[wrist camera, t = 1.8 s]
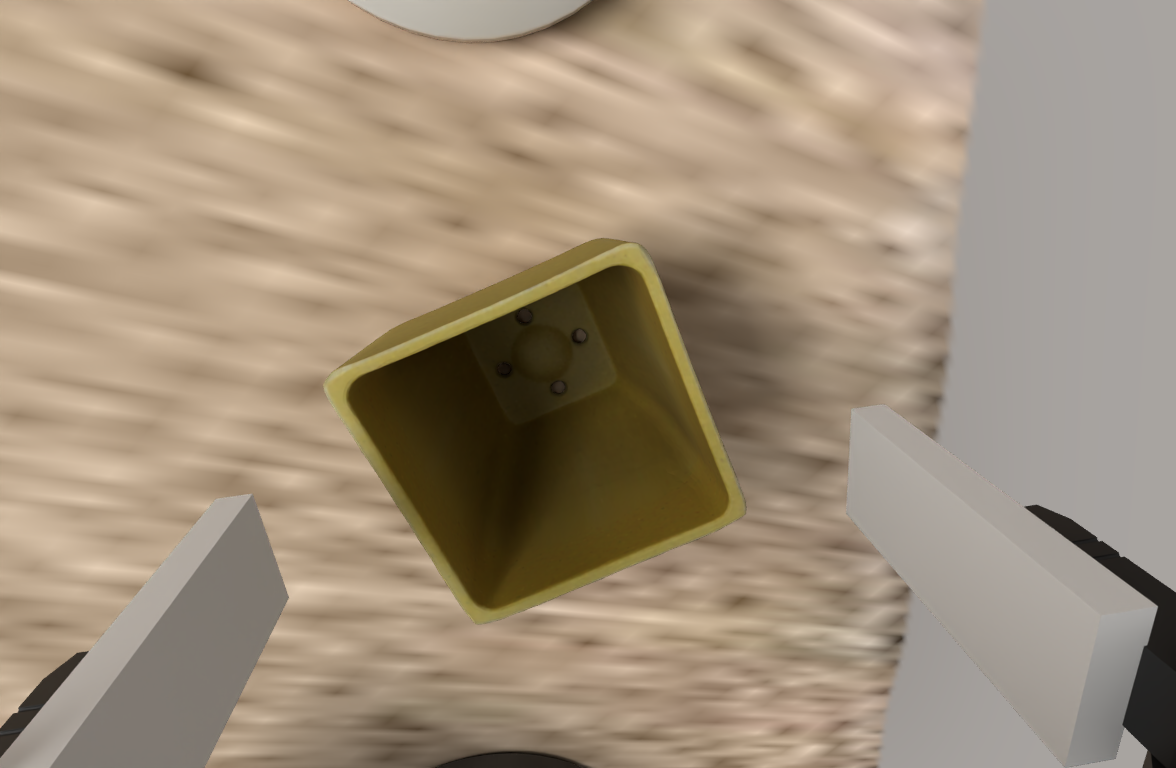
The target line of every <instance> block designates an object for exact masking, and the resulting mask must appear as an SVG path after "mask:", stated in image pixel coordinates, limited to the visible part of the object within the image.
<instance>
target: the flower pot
mask: <svg viewBox="0 0 1176 768" xmlns="http://www.w3.org/2000/svg"><path fill="white" fill-rule="evenodd" d="M522 309H527V310H528V311H530V312H531V314H532V319H531V321H530V322H528V323H521V322H520V321H519V320H518V318H517V314H518V312H519V311H520V310H522ZM578 329H581V330H583V331H584V332H585V333H586V339H585V340H584V342H582V343H576V342H574V341H573V339H572V334H573V332H574V331H575V330H578ZM502 362H506V363H509V364H510V365H511V367H512V370H511V372H510V373H509V374H508V375H502V374H500V373H499V372H498V370H497V366H498V365H499V364H500V363H502ZM555 381H562V382H563V383H564V384H565V390H564V391H563V392H562V393H559V394H556V393H554V392H553V391H552V389H551V386H552V384H553V383H554V382H555ZM323 388H324V391H325V394H326V396H327V398H328V400H329V401H330V403H331V405H332V407H333V408H334V410H335V411H336V412H337V414H338V416H339V417H340V419H341V421H342V422H343V423H344V425H345V426H346V428H347V429H348V431H349V432H350V434H351V435H352V437H353V438H354V440H355V442H356V443H357V445H358V446H359V448H360V450H361V451H362V453H363V454H364V455H365V457H366V458H367V460H368V461H369V463H370V464H371V466H372V467H373V469H374V470H375V472H376V473H377V475H378V476H379V478H380V479H381V481H382V483H383V484H384V486H385V487H386V489H387V490H388V492H389V494H390V495H391V497H392V498H393V500H394V502H395V503H396V505H397V506H398V508H399V509H400V511H401V512H402V514H403V516H404V517H405V519H406V520H407V522H408V523H409V525H410V527H411V528H412V530H413V532H414V533H415V535H416V536H417V538H418V540H419V541H420V543H421V544H422V546H423V547H424V549H425V550H426V552H427V553H428V555H429V556H430V558H431V560H432V561H433V563H434V564H435V566H436V568H437V570H438V571H439V573H440V575H441V576H442V578H443V579H444V581H445V582H446V584H447V585H448V587H449V588H450V590H451V591H452V593H453V595H454V596H455V598H456V599H457V601H458V602H459V604H460V606H461V607H462V608H463V610H464V611H465V612H466V614H467V615H468V616H469V617H470V619H471V620H472V621H473V622H474V623H475V624H478V625H480V624H486V623H490V622H494V621H498V620H501V619H504V618H507V617H509V616H511V615H513V614H516V613H519V612H522V611H525V610H527V609H529V608H532V607H535V606H538V605H540V604H542V603H545V602H547V601H550V600H552V599H554V598H556V597H559V596H561V595H563V594H566V593H568V592H570V591H573V590H575V589H578V588H580V587H583V586H585V585H588V584H590V583H593V582H595V581H598V580H600V579H603V578H605V577H607V576H609V575H611V574H614V573H616V572H618V571H621V570H623V569H625V568H628V567H630V566H632V565H635V564H638V563H640V562H643V561H645V560H648V559H650V558H653V557H655V556H658V555H660V554H662V553H664V552H667V551H669V550H671V549H674V548H677V547H679V546H682V545H684V544H687V543H690V542H692V541H695V540H697V539H700V538H702V537H704V536H707V535H709V534H711V533H713V532H716V531H718V530H720V529H721V528H723V527H725V526H727V525H729V524H731V523H732V522H734V521H736V520H738V519H739V518H741V517H743V516H744V515H745V514H746V502H745V498H744V495H743V493H742V490H741V488H740V485H739V483H738V480H737V477H736V475H735V472H734V470H733V467H732V465H731V462H730V460H729V457H728V455H727V453H726V450H725V448H724V445H723V443H722V440H721V438H720V435H719V433H718V430H717V428H716V425H715V422H714V420H713V417H712V415H711V412H710V410H709V407H708V405H707V402H706V399H705V397H704V395H703V392H702V390H701V387H700V384H699V382H698V379H697V376H696V374H695V371H694V369H693V366H692V363H691V361H690V358H689V355H688V353H687V350H686V348H685V345H684V343H683V340H682V337H681V334H680V331H679V329H678V326H677V323H676V321H675V317H674V314H673V312H672V309H671V307H670V304H669V301H668V298H667V295H666V293H665V290H664V288H663V285H662V282H661V280H660V277H659V275H658V272H657V270H656V268H655V265H654V263H653V261H652V259H651V257H650V255H649V253H648V252H647V250H646V249H645V248H644V247H643V246H641V245H640V244H638V243H632V242H626V241H620V240H614V239H606V238H600V239H595V240H591V241H589V242H586V243H584V244H582V245H580V246H577V247H575V248H573V249H571V250H569V251H567V252H565V253H563V254H561V255H558V256H556V257H554V258H552V259H550V260H548V261H545V262H543V263H541V264H539V265H536V266H534V267H532V268H530V269H528V270H525V271H523V272H521V273H519V274H517V275H514V276H512V277H510V278H508V279H506V280H503V281H501V282H499V283H496V284H494V285H492V286H489V287H487V288H485V289H483V290H480V291H478V292H476V293H473V294H471V295H469V296H466V297H464V298H462V299H459V300H457V301H455V302H453V303H450V304H448V305H446V306H443V307H441V308H439V309H436V310H434V311H431V312H429V313H427V314H424V315H422V316H419V317H417V318H415V319H412V320H410V321H407V322H405V323H403V324H401V325H399V326H396V327H395V328H393V329H391V330H389V331H388V332H387V333H385V334H384V335H382V336H381V337H380V338H378V339H377V340H375V341H374V342H373V343H371V344H370V345H368V346H367V347H366V348H364V349H363V350H362V351H360V352H359V353H358V354H356V355H355V356H354V357H352V358H351V359H350V360H348V361H347V362H346V363H344V364H343V365H342V366H340V367H339V368H337V369H336V370H335V371H333V372H332V373H331V374H330V375H329V376H328V378H327V379H326V381H325V382H324V385H323Z"/></svg>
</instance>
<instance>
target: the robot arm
mask: <svg viewBox="0 0 1176 768" xmlns="http://www.w3.org/2000/svg"><path fill="white" fill-rule="evenodd" d="M846 514H847V515H848V516H849V517H850V519H851V520H852V521H853V522H854V523H855V524H856V526H857V527H858V528H859V529H860V530H861V531H862V533H863V534H864V535H865V536H866V537H867V538H868V540H869V541H870V542H871V543H872V544H873V545H874V547H875V548H876V549H877V550H878V551H879V552H880V553H881V555H882V556H883V557H884V558H885V559H886V560H887V562H888V563H889V564H890V565H891V566H892V567H893V569H894V570H895V571H896V572H897V573H898V574H899V576H900V577H901V578H902V579H903V580H904V581H905V583H906V584H907V585H908V586H909V587H910V588H911V590H912V591H913V592H914V593H915V594H916V595H917V597H918V598H919V599H920V600H921V601H922V602H923V603H924V605H925V606H926V607H927V608H928V609H929V610H930V612H931V613H932V614H933V615H934V616H935V617H936V619H937V620H938V621H939V622H940V623H941V624H942V626H943V627H944V628H945V629H946V630H947V631H948V633H949V634H950V635H951V636H952V637H953V638H954V639H955V640H956V642H957V643H958V644H959V645H960V647H961V648H962V649H963V650H964V651H965V652H966V653H967V655H968V656H969V657H970V658H971V659H972V660H973V662H974V663H975V664H976V665H977V666H978V667H979V669H980V670H981V671H982V672H983V673H984V674H985V676H986V677H987V678H988V679H989V680H990V681H991V682H992V684H993V685H994V686H995V687H996V688H997V690H998V691H999V692H1000V693H1001V694H1002V695H1003V697H1004V698H1005V699H1006V700H1007V701H1008V702H1009V703H1010V705H1011V706H1012V707H1013V708H1014V709H1015V710H1016V712H1017V713H1018V714H1019V715H1020V716H1021V717H1022V719H1023V720H1024V721H1025V722H1026V723H1027V724H1028V726H1029V727H1030V728H1031V729H1032V730H1033V731H1034V733H1036V735H1037V736H1038V737H1039V738H1040V740H1042V742H1043V743H1044V744H1045V745H1046V746H1047V748H1048V749H1049V750H1050V751H1051V752H1052V753H1053V755H1054V756H1055V757H1056V758H1057V759H1058V760H1059V762H1060V763H1061V764H1062V765H1063V766H1064V767H1065V768H1067V767H1072V766H1078V765H1083V764H1089V763H1095V762H1101V761H1106V760H1112V759H1115V758H1116V755H1117V752H1118V748H1119V744H1120V740H1121V737H1122V734H1123V730H1124V727H1125V728H1126V729H1127V730H1128V731H1129V732H1130V733H1131V734H1132V735H1133V736H1134V737H1135V738H1136V739H1137V740H1138V741H1139V742H1140V743H1141V744H1142V745H1143V746H1144V747H1145V748H1146V749H1147V750H1148V751H1147V755H1146V758H1145V761H1144V764H1143V768H1176V592H1174V591H1173V590H1171V589H1170V588H1169V587H1167V586H1166V585H1164V584H1163V583H1161V582H1160V581H1159V580H1157V579H1155V578H1154V577H1153V576H1151V575H1150V574H1149V573H1147V572H1146V571H1144V570H1143V569H1141V568H1140V567H1138V566H1137V565H1136V564H1134V563H1133V562H1131V561H1130V560H1129V559H1127V558H1126V557H1120V556H1119V552H1117V551H1116V550H1114V549H1113V548H1111V547H1110V546H1108V545H1107V544H1106V543H1104V542H1103V541H1100V542H1099V541H1098V540H1097V537H1096V536H1094V535H1093V534H1091V533H1090V532H1088V531H1087V530H1086V529H1084V528H1083V527H1081V526H1080V525H1078V524H1077V523H1076V522H1074V521H1073V520H1071V519H1069V518H1067V517H1065V516H1062V515H1060V514H1058V513H1055V512H1053V511H1050V510H1048V509H1046V508H1043V507H1041V506H1039V505H1032V506H1026V507H1023V506H1021V505H1020V504H1019V503H1017V502H1016V501H1015V500H1013V499H1012V498H1011V497H1009V496H1008V495H1007V494H1005V493H1004V492H1003V491H1001V490H1000V489H999V488H997V487H996V486H994V485H993V484H992V483H991V482H989V481H988V480H986V479H985V478H984V477H982V476H981V475H980V474H978V473H977V472H976V471H974V470H973V469H972V468H970V467H969V466H967V465H966V464H965V463H964V462H962V461H961V460H960V459H958V458H957V457H955V456H954V455H953V454H951V453H950V452H948V451H947V450H946V449H945V448H943V447H942V446H941V445H939V444H938V443H937V442H935V441H934V440H933V439H931V438H930V437H928V436H927V435H926V434H924V433H923V432H922V431H920V430H919V429H918V428H916V427H915V426H914V425H912V424H911V423H910V422H908V421H907V420H906V419H904V418H903V417H901V416H900V415H899V414H897V413H896V412H895V411H893V410H892V409H891V408H889V407H888V406H887V405H885V404H881V405H874V406H867V407H860V408H853V409H851V428H850V448H849V468H848V488H847V508H846ZM288 598H289V597H288V594H287V591H286V588H285V585H284V582H283V579H282V576H281V574H280V571H279V568H278V565H277V562H276V559H275V556H274V554H273V551H272V548H271V545H270V542H269V539H268V536H267V533H266V531H265V528H264V525H263V522H262V519H261V516H260V513H259V510H258V508H257V505H256V502H255V499H254V496H253V494H247V495H240V496H233V497H226V498H219V499H215V501H214V502H213V503H212V504H211V505H210V507H209V508H208V509H207V510H206V511H205V513H204V514H203V515H202V516H201V517H200V519H199V520H198V521H197V522H196V523H195V525H194V526H193V527H192V528H191V529H190V531H189V532H188V533H187V534H186V535H185V537H184V538H183V539H182V540H181V541H180V543H179V544H178V545H177V546H176V547H175V549H174V550H173V551H172V552H171V553H170V555H169V556H168V557H167V558H166V559H165V561H164V562H163V563H162V564H161V565H160V567H159V568H158V569H157V570H156V571H155V573H154V574H153V575H152V576H151V577H150V579H149V580H148V581H147V582H146V584H145V585H144V586H143V587H142V588H141V590H140V591H139V592H138V593H137V594H136V596H135V597H134V598H133V599H132V600H131V602H130V603H129V604H128V605H127V606H126V608H125V609H124V610H123V611H122V612H121V614H120V615H119V616H118V617H117V618H116V620H115V621H114V622H113V623H112V624H111V626H110V627H109V628H108V629H107V630H106V632H105V633H104V634H103V635H102V636H101V638H100V639H99V640H98V641H97V642H96V644H95V645H94V646H93V647H92V648H91V650H90V651H87V652H81V653H77V654H75V655H74V656H73V657H71V658H70V659H69V660H68V661H66V662H65V663H64V664H62V665H61V666H60V667H59V668H57V669H56V670H55V671H53V672H52V673H51V674H49V675H48V676H47V677H46V678H44V679H43V680H42V681H41V682H40V684H39V685H38V686H37V687H36V688H35V689H34V690H33V692H32V693H31V694H30V695H29V696H28V697H27V698H26V700H25V701H24V702H23V703H22V704H21V705H20V706H19V708H18V709H19V711H18V713H14V714H12V716H11V717H10V718H9V719H8V720H7V721H6V723H5V724H4V725H3V726H2V727H1V728H0V768H204V767H205V765H206V763H207V761H208V759H209V757H210V755H211V753H212V751H213V749H214V747H215V745H216V743H217V741H218V739H219V737H220V735H221V733H222V731H223V729H224V727H225V725H226V723H227V721H228V719H229V717H230V715H231V713H232V711H233V709H234V707H235V705H236V703H237V701H238V699H239V697H240V695H241V693H242V691H243V689H244V687H245V685H246V683H247V681H248V679H249V677H250V675H251V673H252V671H253V669H254V667H255V665H256V663H257V661H258V659H259V657H260V655H261V653H262V651H263V649H264V647H265V645H266V643H267V641H268V639H269V637H270V635H271V633H272V631H273V629H274V627H275V625H276V623H277V621H278V619H279V617H280V615H281V612H282V610H283V608H284V606H285V604H286V602H287V600H288ZM436 768H581V767H579V766H577V765H574V764H572V763H569V762H565V761H562V760H559V759H555V758H550V757H545V756H539V755H531V754H511V753H508V754H491V755H482V756H476V757H470V758H466V759H461V760H457V761H454V762H450V763H447V764H444V765H441V766H439V767H436Z"/></svg>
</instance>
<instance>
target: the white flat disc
mask: <svg viewBox="0 0 1176 768" xmlns="http://www.w3.org/2000/svg"><path fill="white" fill-rule="evenodd" d="M348 1H349V2H350V3H352V4H353V5H355V6H356V7H358V8H360V9H362V10H363V11H365V12H367V13H369V14H371V15H372V16H374V17H376V18H378V19H379V20H381V21H383V22H386V23H388V24H391V25H393V26H396V27H398V28H401V29H403V30H406V31H408V32H411V33H415V34H418V35H422V36H426V37H430V38H434V39H438V40H446V41H455V42H464V43H474V42H496V41H502V40H507V39H513V38H518V37H522V36H525V35H528V34H531V33H534V32H537V31H540V30H543V29H546V28H548V27H550V26H552V25H554V24H556V23H558V22H560V21H562V20H564V19H566V18H568V17H570V16H572V15H573V14H575V13H576V12H577V11H579V10H580V9H582V8H583V7H584V6H586V5H587V4H589V3H590V2H591V1H593V0H348Z"/></svg>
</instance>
